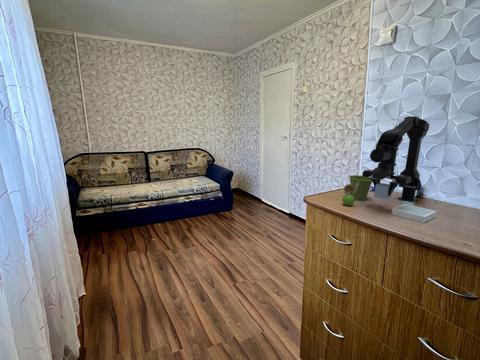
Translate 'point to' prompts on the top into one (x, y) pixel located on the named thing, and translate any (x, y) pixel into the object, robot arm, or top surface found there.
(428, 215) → the base
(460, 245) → the top surface
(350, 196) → the snail figurine
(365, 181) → the plant pot
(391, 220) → the top surface
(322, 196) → the top surface
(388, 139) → the robot arm
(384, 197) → the block
